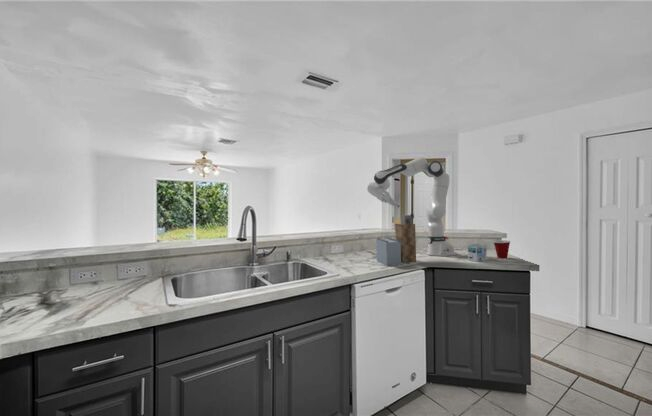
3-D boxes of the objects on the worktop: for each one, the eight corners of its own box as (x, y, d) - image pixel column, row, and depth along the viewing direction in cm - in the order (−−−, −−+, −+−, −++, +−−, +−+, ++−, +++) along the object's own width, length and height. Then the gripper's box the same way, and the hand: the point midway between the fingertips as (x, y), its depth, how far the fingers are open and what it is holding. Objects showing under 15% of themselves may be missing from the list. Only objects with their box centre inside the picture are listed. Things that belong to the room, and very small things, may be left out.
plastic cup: (491, 256, 207) (491, 239, 206) (508, 256, 203) (508, 239, 203) (494, 259, 196) (494, 241, 196) (513, 259, 193) (512, 241, 193)
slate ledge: (389, 259, 205) (389, 237, 205) (401, 264, 188) (400, 240, 187) (376, 260, 203) (376, 238, 203) (386, 265, 186) (386, 241, 186)
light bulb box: (477, 262, 188) (476, 245, 188) (467, 260, 194) (467, 244, 194) (487, 260, 193) (486, 244, 193) (477, 258, 199) (477, 243, 199)
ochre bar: (398, 222, 213) (398, 214, 213) (411, 224, 193) (411, 215, 193) (392, 222, 212) (392, 214, 212) (404, 224, 192) (404, 215, 192)
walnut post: (409, 259, 204) (408, 223, 204) (416, 262, 194) (415, 224, 194) (396, 260, 202) (395, 223, 202) (402, 263, 192) (401, 224, 192)
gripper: (381, 188, 215) (396, 198, 207) (390, 196, 232) (403, 205, 224) (376, 195, 216) (390, 205, 208) (385, 202, 233) (399, 211, 225)
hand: (397, 205), depth 216 cm, fingers open, 8 cm apart
